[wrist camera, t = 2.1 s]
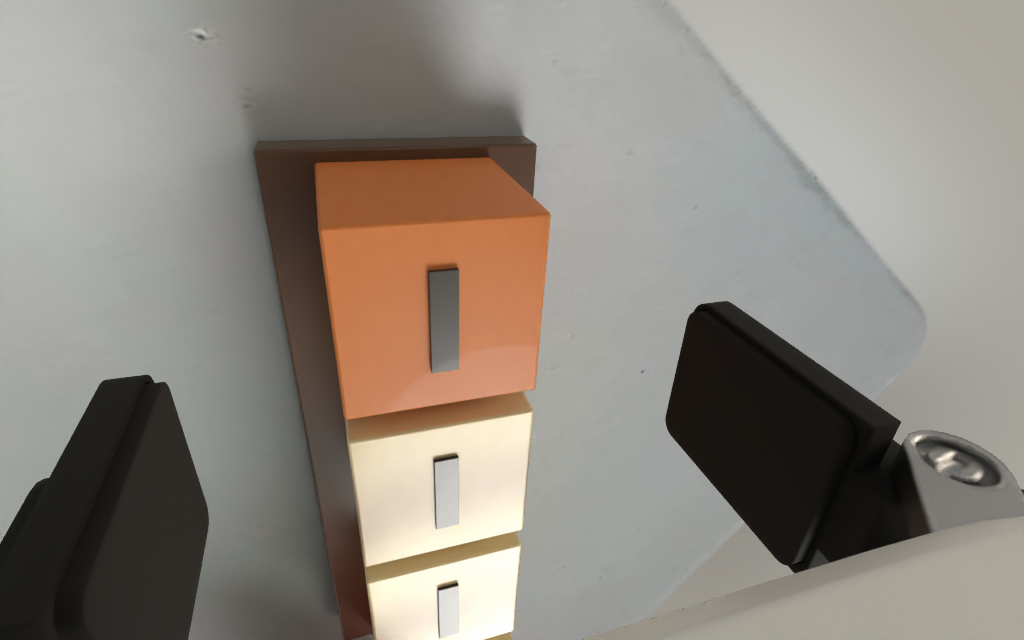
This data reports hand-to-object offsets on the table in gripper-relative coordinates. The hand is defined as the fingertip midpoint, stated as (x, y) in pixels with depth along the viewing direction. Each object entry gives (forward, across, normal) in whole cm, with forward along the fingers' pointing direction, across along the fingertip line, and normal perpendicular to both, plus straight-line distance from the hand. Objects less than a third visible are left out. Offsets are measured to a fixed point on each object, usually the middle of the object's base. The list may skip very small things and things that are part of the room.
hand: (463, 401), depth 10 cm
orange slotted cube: (+6, 0, -1) cm, 6 cm away
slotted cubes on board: (+7, 0, +7) cm, 10 cm away
